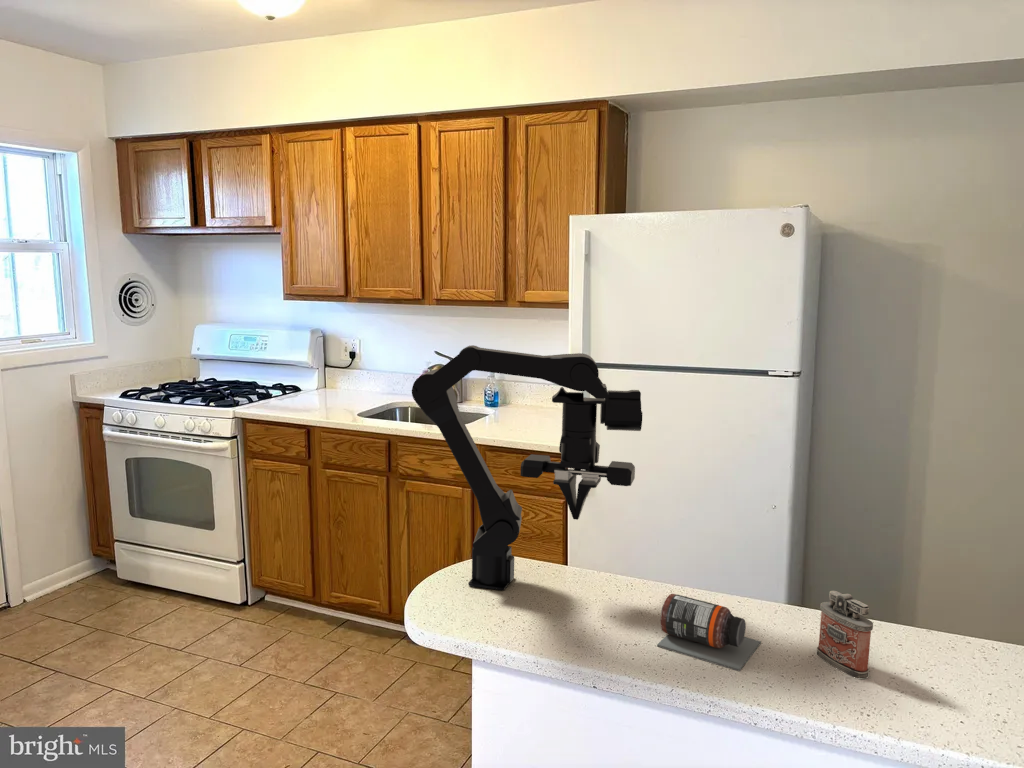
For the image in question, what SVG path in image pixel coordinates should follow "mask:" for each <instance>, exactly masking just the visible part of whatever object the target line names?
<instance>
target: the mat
mask: <svg viewBox="0 0 1024 768" xmlns="http://www.w3.org/2000/svg"><path fill="white" fill-rule="evenodd" d="M761 642H762V641H761V640H758V639H753V638H750V637H748V636H747V637H746V636H744V639H743V642H742V644H741V646H740V647H736V646H731V645H730V644H728V645H725V646H724V647H723V648H714V647H711V646H707V645H704V644H701V643H697V642H694V641H690V640H687V639H683V638H680V637H676V636H673V635H670V634H666V635H665V637H663V638H662V639H661V640H660V641H659V642H658V643H657V645H656V646H657V647H658V648H661V649H665V650H668V651H672V652H675V653H677V654H681V655H685V656H687V657H692V658H695V659H698V660H702V661H705V662H708V663H711V664H715V665H717V666H721V667H725V668H728V669H730V670H735V671H738V672H740V671H741V670H742V669H743V668H744V666H745V665H746V664H747V662H748V661H749V660H750V658H751V657H752V656H753V654H754V653H755V651H756V650H757V649H758V648H759V646H760V645H761Z"/></svg>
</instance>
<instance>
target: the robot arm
mask: <svg viewBox="0 0 1024 768" xmlns="http://www.w3.org/2000/svg"><path fill="white" fill-rule="evenodd" d="M472 371H473V372H474V371H476V372H477V371H478V372H486V373H493V374H494V373H495V374H499V375H500V374H501V375H508V376H509V375H510V376H516V377H517V376H518V377H525V378H533V379H541V380H543V381H547V382H550V383H553V384H555V385H557V386H560V388H559V390H558V391H557V392H556V393H555V394H553V395H552V397H551V402H552V403H554V404H562V417H561V418H562V421H561V424H562V425H561V436H560V440H559V447H558V449H559V454H561V455H560V462H559V461H551V460H552V459H551V456H550V455H545V454H530V455H528V456H527V457H526V458H525V459H524V460H523V461H522V462H521V463H520V476H521V477H523V478H535V479H538V478H539V477H540V476H541V475H543V474H544V473H553V474H554V480H553V481H552V483H553V485H555V486H556V485H557V486H558V487H559V489H560V490H561V493H562V495H563V496H564V498H565V500H566V503H567V505H568V509H569V511H570V514H571V517H572V519H573V520H577V521H578V520H579V519H580V515H581V514H582V511H583V508H584V505H585V502H586V499H587V497H588V495H589V492H590V491H591V489H595V488H597V487H598V486H599V484H600V482H601V479H602V478H606V481H607V482H608V484H610V485H612V486H621V487H630V486H632V484H633V483H634V480H635V476H636V475H635V473H636V466H635V465H634V464H633V462H627V461H619V460H618V461H617V460H616V461H615V460H612V461H610V462H609V465H596V464H598V463H599V459H600V458H599V456H600V448H601V447H600V446H601V445H600V444H599V443H598V442H597V416H598V415H597V411H598V408H597V407H598V405H600V406H599V407H600V408H599V409H600V412H599V422H600V425H601V424H602V425H604V427H606V430H607V431H631V432H632V431H633V432H641V430H642V427H643V411H642V400H641V398H642V397H641V396H642V392H641V391H640V390H639V389H631V390H611V389H609V390H608V387H607V385H606V383H603V382H602V381H603V380H601V379H600V377H599V376H600V375H599V374H600V372H599V368H598V365H597V363H596V361H595V359H593V358H592V357H591V356H590V355H589V354H587V353H586V354H585V353H583V352H582V353H580V352H579V353H563V354H562V353H561V354H552V355H551V354H549V355H540V354H533V353H526V352H525V353H524V352H519V351H518V352H516V351H510V350H501V349H493V348H484V347H481V346H480V347H479V346H477V345H467V346H465V347H463V349H461V350H460V351H459V354H457V355H455V356H454V357H453V358H452V359H450V360H449V361H448V362H447V363H445V364H444V365H443V366H441V367H440V368H438V369H431V370H428V371H426V372H424V374H421V375H420V376H418V377H417V378H416V379H415V381H414V382H413V384H412V388H411V396H412V398H413V400H414V402H415V403H416V404H417V406H418V407H419V408H420V410H421V411H422V412H423V413H424V415H425V416H426V417H427V418H428V419H429V420H430V421H431V422H432V423H433V424H434V425H435V426H436V427H437V428H438V429H439V431H440V432H441V435H442V437H443V438H444V440H445V442H446V444H447V446H448V448H449V450H450V451H451V454H452V455H453V457H454V460H455V461H456V463H457V464H458V467H459V468H460V470H461V472H462V474H463V476H464V479H466V482H467V483H468V485H469V487H470V489H471V491H472V493H473V494H474V497H475V499H476V501H477V504H478V511H479V514H480V519H481V522H482V524H481V525H480V526H479V527H478V529H477V532H476V535H475V537H474V540H473V543H472V548H471V579H470V580H469V581H468V582H467V583H468V586H469V587H476V588H484V589H489V590H490V589H491V590H498V591H505V590H506V589H507V587H508V586H509V585H510V584H511V582H512V581H513V579H514V578H515V556H514V555H512V550H513V549H512V546H510V545H512V544H513V543H514V542H516V540H517V539H518V538H519V535H520V531H521V526H522V525H521V524H522V518H523V517H522V512H523V507H522V505H520V504H519V503H518V501H517V500H516V497H515V494H514V492H513V489H509V490H507V492H504V490H503V489H501V488H500V486H498V484H497V482H496V480H495V479H494V477H493V475H492V472H491V470H489V468H488V465H487V463H486V461H485V460H484V457H483V456H482V454H481V453H480V449H478V447H477V445H476V443H475V441H474V439H473V437H472V435H471V433H470V432H469V430H468V428H467V426H466V424H465V422H464V420H463V418H462V417H461V413H460V409H459V406H458V400H457V396H456V394H455V393H456V392H455V389H454V387H453V386H455V385H456V384H457V383H459V382H460V381H461V380H462V379H464V378H465V377H466V376H468V375H469V374H470V373H471V372H472ZM565 388H566V389H569V390H573V391H567V390H566V389H565ZM574 391H575V392H574ZM584 392H587V393H588V394H589V395H591V396H592V397H585V396H584V395H585V394H584ZM577 476H581V477H580V478H581V480H580V481H579V482H578V485H577Z"/></svg>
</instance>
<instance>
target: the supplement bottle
mask: <svg viewBox="0 0 1024 768" xmlns="http://www.w3.org/2000/svg"><path fill="white" fill-rule="evenodd" d="M659 622H660V628H661V630H662V633H665V634H666V635H668V634H670V635H673V636H676V637H680V638H683V639H687V640H690V641H694V642H697V643H701V644H704V645H707V646H711V647H714V648H723V647H724V646H725V645H728V644H730V645H731V646H736V647H740V646H741V644H742V642H743V639H744V637H745V634H746V624H747V623H746V620H745V619H744V618H742V617H739V616H734V615H733V613H731V610H730V609H729V608H728V607H726V606H723V605H721V604H720V605H719V604H716V603H711V602H707V601H705V600H699V599H696V598H693V597H689V596H686V595H681V594H676V593H671V594H668V596H667V597H665V600H664V601H663V604H662V608H661V611H660V621H659Z"/></svg>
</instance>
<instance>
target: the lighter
mask: <svg viewBox="0 0 1024 768" xmlns="http://www.w3.org/2000/svg"><path fill="white" fill-rule="evenodd" d="M828 596H829V597H828V599H829V601H823V602H821V603H820V604H819V605H820V606H819V611H821V613H820V622H819V623H820V624H819V637H818V646H817V647H816V656H817V657H818V658H819V659H820V660H822V661H823V662H825V663H827V664H828V665H830V666H831V667H833V668H834V669H836V668H837V669H836V670H837V671H838V670H839V671H840V672H841V671H842V673H843V672H844V674H846V675H847V676H850V677H851V678H854V677H855V679H858V678H866V679H868V678H869V673H870V669H869V658H870V648H871V647H870V646H871V645H870V644H871V636H872V635H871V634H872V631H873V629H874V623H873V621H872V620H870V619H868V618H867V617H866V616H869V612H870V611H869V610H870V607H869V605H868V604H866V603H863V602H862V601H859V600H857V599H854V597H853V595H852V594H850V593H844V594H842V593H841V592H839V591H836V590H830V591H829V595H828ZM867 677H868V678H867Z"/></svg>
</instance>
